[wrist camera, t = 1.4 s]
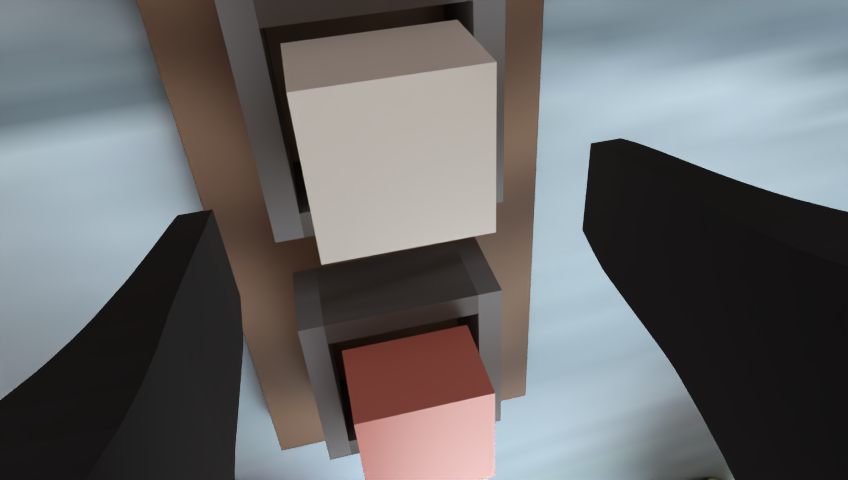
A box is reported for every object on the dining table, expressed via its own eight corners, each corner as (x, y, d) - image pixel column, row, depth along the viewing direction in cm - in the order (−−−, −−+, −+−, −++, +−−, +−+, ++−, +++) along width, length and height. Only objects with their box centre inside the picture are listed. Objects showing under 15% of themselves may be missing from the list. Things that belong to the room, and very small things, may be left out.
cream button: (280, 43, 14) (286, 92, 12) (457, 19, 15) (496, 61, 13) (311, 198, 17) (321, 265, 14) (462, 172, 17) (496, 232, 15)
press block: (100, -155, 15) (53, -141, 12) (531, -193, 17) (607, -190, 13) (280, 422, 28) (284, 514, 25) (514, 371, 30) (550, 450, 26)
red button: (341, 350, 20) (354, 424, 18) (467, 324, 21) (495, 392, 18) (358, 432, 23) (370, 507, 20) (469, 407, 23) (495, 476, 21)
